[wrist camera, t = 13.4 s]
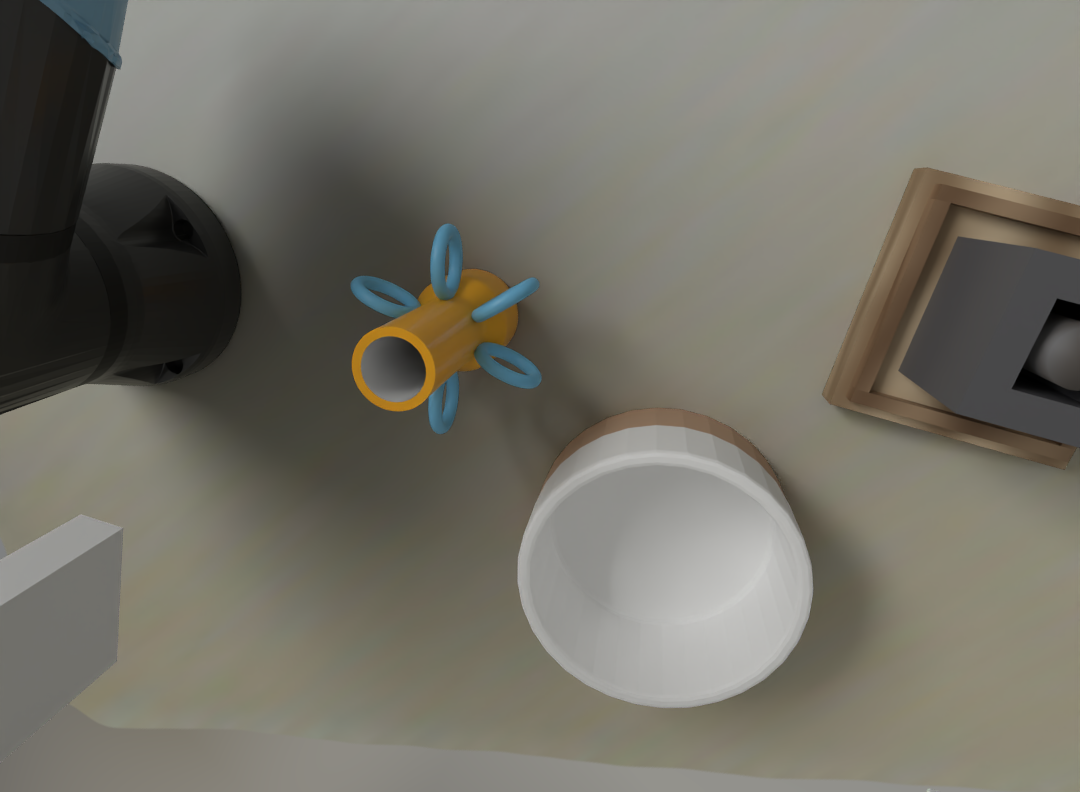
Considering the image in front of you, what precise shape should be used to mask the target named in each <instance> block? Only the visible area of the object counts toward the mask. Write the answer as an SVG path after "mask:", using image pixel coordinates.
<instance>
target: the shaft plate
mask: <svg viewBox="0 0 1080 792" xmlns="http://www.w3.org/2000/svg"><path fill="white" fill-rule="evenodd" d="M958 236H960V237H966V238H973V239H980V240H986V241H993V242H999V243H1006V244H1013V245H1019V246H1026V247H1032V248H1038V249H1041V250H1045V251H1049V252H1053V253H1057V254H1061V255H1065V256H1069V257H1073V258H1076V259H1080V206H1079V205H1075V204H1071V203H1067V202H1063V201H1059V200H1055V199H1051V198H1047V197H1043V196H1039V195H1035V194H1031V193H1027V192H1023V191H1019V190H1015V189H1011V188H1007V187H1003V186H999V185H995V184H991V183H987V182H983V181H979V180H975V179H971V178H967V177H963V176H959V175H955V174H951V173H947V172H943V171H939V170H935V169H931V168H917V169H914V170H913V173H912V175H911V178H910V180H909V183H908V185H907V188H906V190H905V192H904V195H903V197H902V200H901V202H900V205H899V207H898V210H897V212H896V214H895V217H894V219H893V222H892V224H891V227H890V229H889V232H888V234H887V236H886V239H885V241H884V244H883V246H882V249H881V251H880V254H879V256H878V259H877V261H876V263H875V266H874V268H873V271H872V273H871V276H870V278H869V281H868V283H867V285H866V288H865V290H864V293H863V295H862V298H861V300H860V303H859V305H858V307H857V310H856V312H855V315H854V317H853V320H852V322H851V325H850V327H849V330H848V332H847V334H846V337H845V339H844V342H843V344H842V347H841V349H840V352H839V354H838V356H837V359H836V361H835V364H834V366H833V369H832V371H831V374H830V376H829V378H828V381H827V383H826V386H825V388H824V391H823V393H822V395H823V396H824V398H825V399H826V400H827V401H828V402H829V404H832V405H836V406H839V407H843V408H846V409H850V410H853V411H857V412H860V413H864V414H868V415H871V416H875V417H878V418H882V419H885V420H889V421H892V422H896V423H900V424H903V425H907V426H910V427H914V428H917V429H921V430H924V431H928V432H932V433H935V434H939V435H942V436H946V437H949V438H953V439H956V440H960V441H964V442H967V443H971V444H974V445H978V446H981V447H985V448H988V449H992V450H996V451H999V452H1003V453H1006V454H1010V455H1013V456H1017V457H1020V458H1024V459H1028V460H1031V461H1035V462H1038V463H1042V464H1045V465H1049V466H1052V467H1056V468H1060V469H1063V470H1065V468H1066V466H1067V464H1068V463H1069V461H1070V459H1071V457H1072V455H1073V454H1074V452H1075V450H1076V448H1077V447H1075V446H1071V445H1067V444H1064V443H1060V442H1057V441H1053V440H1049V439H1046V438H1042V437H1039V436H1035V435H1031V434H1028V433H1024V432H1021V431H1017V430H1013V429H1010V428H1006V427H1003V426H999V425H996V424H992V423H988V422H985V421H981V420H978V419H974V418H970V417H967V416H963V415H960V414H956V413H954V412H953V411H952V410H950V409H949V408H948V407H946V406H945V405H944V404H942V403H941V402H940V401H938V400H937V399H935V398H934V397H933V396H931V395H930V394H929V393H927V392H926V391H925V390H923V389H922V388H921V387H919V386H918V385H917V384H915V383H914V382H913V381H911V380H910V379H909V378H907V377H906V376H904V375H903V374H902V373H900V372H899V371H898V370H899V368H900V366H901V363H902V361H903V359H904V357H905V354H906V352H907V350H908V348H909V345H910V343H911V341H912V339H913V336H914V334H915V332H916V330H917V327H918V325H919V323H920V321H921V318H922V316H923V314H924V312H925V309H926V307H927V305H928V303H929V300H930V298H931V296H932V293H933V291H934V289H935V287H936V284H937V282H938V280H939V278H940V275H941V273H942V271H943V269H944V266H945V264H946V262H947V260H948V257H949V255H950V253H951V251H952V248H953V246H954V244H955V242H956V239H957V237H958ZM1022 368H1024V369H1026V370H1028V371H1030V372H1032V373H1034V374H1036V375H1038V376H1040V377H1042V378H1044V379H1046V380H1048V381H1051V382H1053V383H1055V384H1057V385H1059V386H1061V387H1063V388H1065V389H1069V390H1075V391H1080V321H1078V320H1075V319H1072V318H1068V317H1065V316H1062V315H1059V314H1055V313H1052V312H1050V314H1049V316H1048V318H1047V320H1046V322H1045V323H1044V325H1043V327H1042V329H1041V331H1040V333H1039V335H1038V337H1037V339H1036V341H1035V343H1034V345H1033V347H1032V349H1031V351H1030V353H1029V355H1028V357H1027V359H1026V361H1025V363H1024V365H1023V367H1022Z"/></svg>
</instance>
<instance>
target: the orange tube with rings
mask: <svg viewBox="0 0 1080 792" xmlns="http://www.w3.org/2000/svg"><path fill="white" fill-rule="evenodd" d="M447 245H449V271H448V275H447V276H445V256H446V250H447ZM462 264H463V250H462V241H461V237H460V234H459V231H458V229H457V228H456V227H455V226H454V225H452V224H444V225H442V226H441V227H440V228H439V229H438V231H437V233H436V235H435V238H434V241H433V245H432V251H431V260H430V274H431V284H430V285H428V286H427V287H426V288H425V289H424V290H423V292H422V293H421V294H420V296H419V297H418V299H416V298H415V297H414V296H413V295H412V294H410V293H409V292H408V291H406V290H404V289H403V288H401V287H399V286H397V285H395V284H393V283H391V282H388V281H386V280H383V279H380V278H376V277H372V276H358V277H356V278H354V279H353V280H352V282H351V290H352V292H353V294H354V295H355V296H356V298H357V299H359V300H360V301H361V302H362V303H364V304H365V305H367V306H368V307H370V308H372V309H373V310H375V311H377V312H379V313H382V314H384V315H387V316H390V317H393V318H396V319H394V320H392V321H390V322H388V323H386V324H384V325H382V326H380V327H378V328H376V329H374V330H372V331H370V332H368V333H367V334H366V335H364V336H363V337H362V338H361V340H360V341H359V342H358V344H357V345H356V347H355V350H354V352H353V356H352V372H353V377H354V380H355V382H356V385H357V386H358V388H359V390H360V391H361V392H362V394H363V395H364V396H365V397H366V398H367V399H368V400H369V401H370V402H372V403H373V404H375V405H376V406H378V407H380V408H383V409H386V410H390V411H406V410H410V409H413V408H415V407H417V406H418V405H420V404H421V403H422V402H424V401H425V400H426V399H427V398H428V397H429V402H428V414H429V422H430V425H431V428H432V429H433V431H434V432H436V433H437V434H444V433H446V432H447V431H448V430H449V429H450V427H451V426H452V423H453V421H454V418H455V415H456V411H457V405H458V398H459V379H458V374H457V371H472V370H476V369H479V368H481V367H482V368H483V369H484V370H485V371H487V372H488V373H489V374H491V375H492V376H494V377H495V378H497V379H499V380H501V381H503V382H505V383H507V384H510V385H512V386H515V387H519V388H524V389H532V388H535V387H537V386H538V385H539V384H540V383H541V379H542V377H541V373H540V371H539V370H538V368H537V367H536V366H535V365H534V364H533V363H532V362H531V361H530V360H528V359H527V358H526V357H524V356H523V355H521V354H519V353H518V352H516V351H514V350H512V349H510V348H507V347H506V346H507V345H508V343H509V342H510V341H511V339H512V338H513V336H514V334H515V331H516V328H517V324H518V307H517V303H518V302H519V301H521V300H523V299H524V298H526V297H528V296H529V295H531V294H532V293H534V292H535V291H536V290H537V289H538V288H539V281H538V280H537V279H536V278H533V277H532V278H529V279H527V280H525V281H523V282H521V283H519V284H517V285H515V286H514V287H512V288H510V289H509V287H508V286H507V285H506V284H505V283H504V282H503V281H502V280H501V279H500V278H499V277H497V276H496V275H494V274H492V273H490V272H488V271H485V270H480V269H464V270H462ZM368 289H370V290H375V291H378V292H381V293H384V294H386V295H388V296H391V297H393V298H394V299H396V300H398V301H399V302H401V303H402V304H404V305H405V306H401V305H397V304H394V303H392V302H389V301H387V300H384V299H382V298H380V297H379V296H377V295H375V294H374V293H372V292H371V291H369V290H368ZM495 357H498V358H500V359H503V360H505V361H507V362H509V363H511V364H513V365H515V366H516V367H518V368H519V369H520V370H522V371H523V372H524V373H525V374H526V375H524V374H520V373H517V372H514V371H512V370H510V369H508V368H506V367H504V366H503V365H501V364H499V363H498V362H496V361H495V360H494V358H495ZM445 384H446V401H445V407H444V411H443V414H442V399H443V392H444V387H445Z"/></svg>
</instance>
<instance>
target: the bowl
mask: <svg viewBox="0 0 1080 792" xmlns="http://www.w3.org/2000/svg"><path fill="white" fill-rule="evenodd" d="M517 583H518V588H519V593H520V598H521V603H522V607H523V610H524V612H525V614H526V617H527V619H528V621H529V624H530V626H531V628H532V631H533V632H534V634H535V635H536V637H537V638H538V640H539V641H540V642H541V644H542V645H543V647H544V648H545V650H546V651H547V652H548V653H549V654H550V655H551V656H552V657H553V658H554V659H555V660H556V661H557V662H558V663H559V664H560V665H561V666H562V667H563V668H564V669H565V670H566V671H567V672H569V673H570V674H572V675H573V676H574V677H576V678H577V679H579V680H580V681H581V682H583V683H584V684H586V685H588V686H590V687H592V688H594V689H596V690H598V691H600V692H602V693H604V694H606V695H608V696H610V697H613V698H617V699H620V700H623V701H627V702H630V703H633V704H637V705H644V706H652V707H659V708H688V707H695V706H701V705H706V704H711V703H716V702H719V701H722V700H725V699H727V698H730V697H733V696H735V695H738V694H741V693H743V692H745V691H746V690H748V689H750V688H751V687H753V686H755V685H756V684H758V683H760V682H761V681H763V680H765V679H766V678H767V677H768V676H769V675H770V674H771V673H772V672H773V671H774V670H776V669H777V668H778V667H779V666H780V665H781V664H782V663H783V662H784V661H785V660H786V658H787V657H788V656H789V654H790V653H791V651H792V650H793V649H794V647H795V646H796V644H797V643H798V642H799V640H800V637H801V635H802V632H803V630H804V628H805V625H806V623H807V621H808V618H809V615H810V609H811V603H812V597H813V591H814V588H813V574H812V563H811V560H810V557H809V553H808V550H807V547H806V544H805V541H804V538H803V535H802V533H801V531H800V528H799V526H798V524H797V521H796V519H795V517H794V514H793V512H792V510H791V507H790V505H789V503H788V501H787V500H786V497H785V495H784V493H783V490H782V488H781V485H780V483H779V481H778V479H777V477H776V476H775V474H774V472H773V470H772V469H771V467H770V465H769V463H768V462H767V460H766V459H765V458H764V457H763V456H762V455H761V453H760V452H759V451H758V450H757V449H756V448H755V447H754V446H753V445H752V443H751V442H749V441H748V440H747V439H745V438H744V437H743V436H741V435H740V434H739V433H737V432H736V431H735V430H733V429H732V428H731V427H729V426H727V425H724V424H722V423H720V422H718V421H716V420H714V419H712V418H710V417H708V416H704V415H701V414H697V413H693V412H689V411H685V410H681V409H667V408H649V409H640V410H631V411H628V412H625V413H621V414H618V415H615V416H612V417H608V418H606V419H604V420H602V421H600V422H599V423H597V424H595V425H593V426H591V427H589V428H587V429H586V430H585V431H583V432H582V433H581V434H580V435H578V436H577V437H576V438H575V439H574V440H572V441H571V442H570V443H569V444H568V445H567V446H566V447H565V449H564V450H563V451H562V452H561V454H560V455H559V456H558V457H557V459H556V460H555V461H554V463H553V465H552V467H551V469H550V471H549V473H548V475H547V477H546V479H545V481H544V484H543V486H542V489H541V492H540V494H539V497H538V499H537V501H536V503H535V506H534V508H533V511H532V514H531V516H530V519H529V522H528V524H527V527H526V529H525V532H524V535H523V539H522V543H521V547H520V551H519V555H518V578H517Z"/></svg>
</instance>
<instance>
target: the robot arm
mask: <svg viewBox="0 0 1080 792" xmlns="http://www.w3.org/2000/svg"><path fill="white" fill-rule="evenodd" d="M127 4H128V0H0V414H3V413H6V412H9V411H11V410H14V409H17V408H20V407H22V406H25V405H28V404H31V403H33V402H36V401H39V400H42V399H45V398H47V397H50V396H53V395H56V394H58V393H61V392H64V391H67V390H69V389H72V388H75V387H78V386H81V385H84V384H106V385H133V386H150V385H158V384H163V383H168V382H171V381H174V380H177V379H179V378H182V377H184V376H187V375H190V374H192V373H194V372H197V371H199V370H201V369H202V368H204V367H206V366H207V365H208V364H210V363H211V362H212V361H213V360H214V359H216V358H217V357H218V356H219V354H220V353H221V352H222V351H223V350H224V348H225V347H226V345H227V344H228V342H229V340H230V338H231V336H232V334H233V332H234V329H235V327H236V324H237V320H238V316H239V311H240V302H241V285H240V276H239V270H238V266H237V262H236V258H235V255H234V252H233V249H232V247H231V244H230V242H229V240H228V238H227V236H226V234H225V232H224V230H223V228H222V226H221V225H220V223H219V222H218V220H217V219H216V217H215V216H214V214H213V213H212V212H211V211H210V209H209V208H208V207H207V206H206V205H205V203H204V202H203V201H202V200H201V199H200V198H199V197H198V196H197V195H195V194H194V193H193V192H192V191H191V190H190V189H188V188H187V187H186V186H184V185H183V184H182V183H180V182H179V181H177V180H175V179H174V178H172V177H170V176H168V175H166V174H164V173H162V172H159V171H157V170H154V169H151V168H148V167H143V166H138V165H130V164H110V163H97V164H92V162H93V158H94V154H95V150H96V146H97V142H98V138H99V134H100V130H101V126H102V122H103V118H104V114H105V110H106V106H107V102H108V98H109V94H110V90H111V86H112V82H113V78H114V75H115V71H116V68H117V69H120V68H121V65H122V59H121V56H120V55H119V47H120V42H121V36H122V31H123V25H124V20H125V14H126V9H127ZM122 542H123V528H122V527H118V526H115V525H112V524H109V523H106V522H103V521H100V520H97V519H94V518H91V517H87V516H84V515H79V516H77V517H75V518H73V519H72V520H70V521H68V522H66V523H65V524H63V525H61V526H59V527H58V528H56V529H54V530H52V531H50V532H49V533H47V534H45V535H43V536H42V537H40V538H38V539H36V540H34V541H33V542H31V543H29V544H27V545H26V546H24V547H22V548H20V549H19V550H17V551H15V552H13V553H11V554H10V555H8V556H6V557H4V558H3V559H1V560H0V763H1V762H2V761H3V760H4V759H6V758H7V757H8V756H9V755H10V754H11V753H13V752H14V751H15V750H16V749H17V748H18V747H19V746H20V745H22V744H23V743H24V742H25V741H26V740H27V739H29V738H30V737H31V736H32V735H33V734H34V733H35V732H36V731H38V730H39V729H40V728H41V727H42V726H43V725H44V724H46V723H47V722H48V721H49V720H50V719H51V718H52V717H54V716H55V715H56V714H57V713H58V712H59V711H60V710H62V709H63V708H64V707H65V706H66V705H67V704H69V703H70V702H71V701H72V700H73V699H74V698H75V697H77V696H78V695H79V694H80V693H81V692H82V691H83V690H84V689H86V688H87V687H88V686H89V685H90V684H91V683H92V682H94V681H95V680H96V679H97V678H98V677H99V676H100V675H102V674H103V673H104V672H105V671H106V670H107V669H108V668H110V667H111V666H112V665H113V664H114V663H115V662H116V661H117V649H118V627H119V606H120V585H121V563H122ZM926 792H939V791H936V790H933V789H930V788H928V790H927V791H926Z"/></svg>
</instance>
